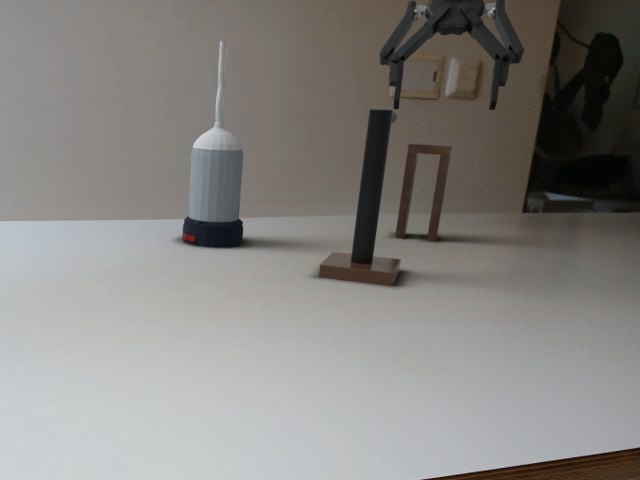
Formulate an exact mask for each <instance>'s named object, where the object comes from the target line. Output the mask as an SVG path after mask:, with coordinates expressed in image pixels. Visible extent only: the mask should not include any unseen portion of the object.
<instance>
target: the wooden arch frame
mask: <svg viewBox="0 0 640 480" xmlns="http://www.w3.org/2000/svg"><path fill="white" fill-rule="evenodd" d="M452 150H453V144H447V143H431V142H430V143H429V142H413V141H412V142H409V143H408V145H407V150H406V151H407V153H406V159H405V165H404V172H403V180H402V186H401V194H400V201H399V208H398V214H397V221H396V229H395V235H394V238H395V239H402V240H403V239H404V238H405V237H406V235H407V230H408V225H409V217H410V210H411V204H412V197H413V190H414V183H415V179H416V178H415V176H416V170H417V163H418V158H419V157H418V156H419V154H422V155H439V162H438V167H437V175H436V180H435V187H434V193H433V199H432V205H431V211H430V219H429V224H428V231H427V235H426V236H427V238H426V242H432V243H436V242H437V240H438V235H439V230H440V229H439V228H440V224H441V217H442V210H443V204H444V198H445V192H446V186H447V181H448V174H449V168H450V161H451V154H452Z"/></svg>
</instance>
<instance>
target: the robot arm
mask: <svg viewBox="0 0 640 480" xmlns="http://www.w3.org/2000/svg"><path fill="white" fill-rule="evenodd" d="M484 14H487V16H488V18H490V20H493V24H494V26H495V29H496V30H497V32H498V35H499V36H500V39H501V40H502V42H503V43H501V42H500V40H499V39H498V38H497V37H496V36H495V34H493V32H491V30H490V29H489V28H488V27H487V25H485V24H484V22H483V19H482V17H483V15H484ZM422 16H425V18H426V20H425V22H423V25H422V26H420V28H419V29H418V30H416V32H415V33H413V34H412V35H411V36H410V37H409V38H408V39H407V40H406V41H405V42H404V43H403V44H402V42H403V40H404V38H405V37H406V36H407V35H408V33H409V31H410V30H411V28H412V27H413V24H414V22H417V21H418V20H419V19H420V17H422ZM437 33H438V34H440V36H447V35H456V36H463V34H465V33H466V34H467V35H469V36H470V37H471V38H472V39H474V40H475V41H476V42H477V43H478V44H479V45H480V46H481V48H483V50H484V51H485V52H486V53H487V54H488V55H489V56H490V58H491V59H492V60H493V61H494V65H493V70H492V77H491V89H490V97H489V107H488V110H489V111H495V110H496V107H497V105H498V104H497V103H498V98H499V90H500V89H499V88H500V87H506V84H507V83H508V78H509V69H510V65H512V64H515V65H518V64H520V63H521V62H522V60H523V57H524V54H525V49H524V45H523V44H522V42H521V40H520V38H519V37H518V34H517V32H516V30H515V27H514V26H513V23H512V22H511V20H510V17H509V16H508V14H507V12H506V0H495V1H494V2H486V3H485V2H484V0H429V1H428V2H427V4H417V1H415V0H410V1H408V3H407V6H406V10H405V14H404V15H403V17H402V18H401V20H400V21H399V23H398V24H397V26H396V27H395V29H394V30H393V31H392V33H391V35H390V36H389V38H388V39H387V40H386V42H385V43H384V45H383V47H382V48H381V49H380V51H379V65H381V66H385V65H386V66H388V67H389V72H388V86H389V87H392V88H394V96H393V110H399V109H400V102H401V101H400V100H401V93H402V86H403V85H402V84H403V76H404V66H405V65H404V64H405V62H406V61H407V60H408V59H409V58H410V57H411V56H412V55H413V54H414V53H416V51H417V50H419V48H421V47H422V46H423V45H424V44H425V43H426V42H427V41H428V40H431V39H432V38H433V37H434V36H435V35H436V34H437ZM401 44H402V45H401ZM400 45H401V46H400ZM399 46H400V47H399Z"/></svg>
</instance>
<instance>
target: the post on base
mask: <svg viewBox="0 0 640 480" xmlns="http://www.w3.org/2000/svg"><path fill="white" fill-rule="evenodd" d="M397 119H398V114H397V112H396V111H394V109H383V108H382V109H381V108H379V109H377V108H370V109H369V112H368V120H367V127H366V128H367V129H366V136H365V143H364V151H363V160H362V167H361V176H360V183H359V193H358V200H357V207H356V216H355V226H354V232H353V241H352V247H351V248H352V249H351V253H349V252H338V251H332V252H331V253H330V254H329V255H328V256H327V257H326V258H325V259H324V260H323V261H322V262H321V263H320V264H319V270H318V278H320V279H321V278H322V279H331V280H332V279H333V280H337V281H338V280H339V281H347V282H356V283H363V284H370V285H371V284H372V285H379V286H387V287H393V286H394V283H395V281H396V279H397V276H398V275H399V273H400V270H401V263H402V259H401V258H395V257H385V256H375V255H374V254H375V247H376V239H377V232H378V226H379V225H378V224H379V216H380V210H381V209H380V208H381V201H382V194H383V187H384V179H385V172H386V166H387V157H388V150H389V142H390V136H391V127H392V124H393V123H395V122H396V121H397Z"/></svg>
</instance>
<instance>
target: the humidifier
mask: <svg viewBox="0 0 640 480" xmlns="http://www.w3.org/2000/svg"><path fill="white" fill-rule="evenodd" d="M218 52H219V53H218V70H217V73H218V74H217V82H218V83H217V84H218V85H217V92H216V98H215V122H214V124H213V125H214V126H213V127H212V128H210V129H209V130H207V131H205V132H204V133H202V134H201V135H200V136H199V137H198V138H197V139H196V140H195V141H194V143H193V145H192V149H191V156H190V157H191V159H190V162H191V163H190V179H189V200H188V215H187V217H185V218H184V219H183V225H182V242H183V244H187V245H190V246H195V247H202V248H213V249H215V248H216V249H219V248H221V249H223V248H225V249H226V248H234V247H239V246H242V244H243V240H244V239H243V237H244V226H243V225H244V221H243V220H242V219H241V218H240V207H241V195H242V193H241V192H242V179H243V164H244V152H243V151H244V147H243V145H242V143H241V141H240V139H239V138H238V137H237V136H236V135H235V134H234V133H232V132H231V131H229V130H228V129H227V128H226V127H225V123H224V107H225V96H226V95H225V94H226V70H227V59H226V57H227V56H228V55H227V54H228V44H227V41H226V40H225V41H223V40H220V41H219V51H218Z"/></svg>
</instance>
